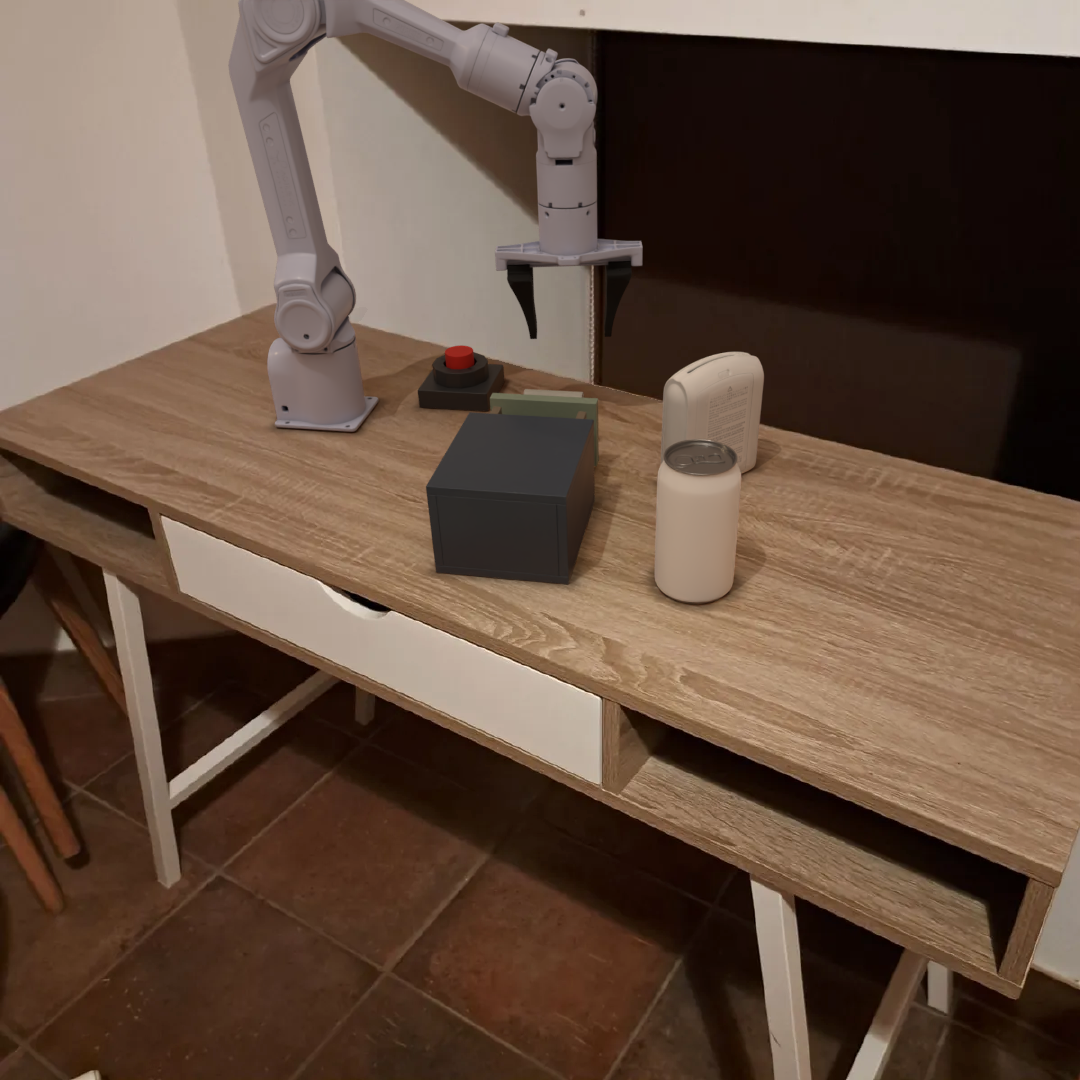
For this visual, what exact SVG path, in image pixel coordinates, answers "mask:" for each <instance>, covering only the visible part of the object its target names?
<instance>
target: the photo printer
mask: <svg viewBox="0 0 1080 1080" xmlns="http://www.w3.org/2000/svg"><path fill="white" fill-rule="evenodd" d="M764 383H765V373H764V368H763V365H762V363H761V361H760V359H759V357H757V356H755V355H751V354H750V353H749V352H744V351H727V352H722V353H716V354H712V355H709V356H706V357H703V358H700V359H698V360H696V361H694V362H692V363H690V364H688V365H686V366H684V367H683V368H681V369H679V370H678V371H676V372H675V373H674V374H673V375H671V377H670V378H668V379H667V381H666V382H665V384H664V386H663V393H662V394H663V395H662V415H661V416H662V418H661V440H660V441H661V443H660V465H661V464H662V462H663V461H664V452H665V450H666V449H667V448H668V447H669V446H671V445H673V444H675V443H677V442H680V441H684V440H691V439H706V440H713V441H717V442H720V443H723V444H725V445H727V446H729V447H731V448H732V449H733V450H734V451H735V452H736V454H737V458H738V459H737V464H738V467H739V469H740V472H741V475H742V474H744V473H746V472H748V471H750V470H752V469H754V467H755V466H756V464H757V457H758V445H759V436H760V435H759V433H760V423H761V411H762V402H763V391H764Z"/></svg>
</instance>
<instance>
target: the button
mask: <svg viewBox="0 0 1080 1080" xmlns="http://www.w3.org/2000/svg"><path fill="white" fill-rule="evenodd" d="M473 352H474V348H473V347H472V346H469V345H463V344H462V345H454V346H450V347H448V348H446V349H445V350H444V355H445V359H446V367H447V368H450V369H465V368H469V367H472V366H474V353H473Z"/></svg>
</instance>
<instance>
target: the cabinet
mask: <svg viewBox="0 0 1080 1080" xmlns="http://www.w3.org/2000/svg"><path fill="white" fill-rule="evenodd" d="M595 481H596V480H595V466H594V420H593V419H576V418H559V417H541V416H524V415H507V414H490V412H489V413H487V412H473V411H469V412H468V414H467V416H466V417H465V419H464V421H463V422H462V424H461V426H460V428H459V429H458V430H457V432H456V435H455V436H454V438H453V440H452V441H451V443H450V445H449V446H448V448H447V450H446V451H445V453H444V454H443V456H442V458H441V460H440V462H439V463H438V465H437V466H436V468H435V470H434V472H433V473H432V475H431V477H430V478H429V480H428V482H427V484H426V485H425V491H426V499H427V501H426V502H427V508H428V517H429V525H430V533H431V543H432V550H433V558H434V559H433V560H434V565H435V573H437V574H448V575H459V576H471V577H480V578H491V579H492V578H493V579H505V580H514V581H526V582H537V583H547V584H558V585H559V584H560V585H569V584H570V581H571V578H572V575H573V572H574V568H575V566H576V563H577V559H578V557H579V556H578V555H579V552H580V549H581V547H582V543H583V539H584V537H585V534H586V530H587V527H588V523H589V520H590V518H591V514H592V510H593V507H594V505H595V501H596V498H595V497H596V495H595V491H596V490H595V489H596V488H595V485H596V483H595Z"/></svg>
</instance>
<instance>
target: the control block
mask: <svg viewBox="0 0 1080 1080" xmlns="http://www.w3.org/2000/svg"><path fill="white" fill-rule="evenodd" d="M473 353H474V366H472V367H469V368H465V369H450V368H447V367H446V359H445V354H443V355H441V356H438V357H436V358H435V359H434V360H433V362H432V364H431V366H432V369H431V371H429V373H428V375H427V376H426V378H425V379H424V380H423V382H422V383H421V385H420V386H419V387H418V389H417V396H418V397H417V398H418V407H419V408H420V409H437V410H438V409H439V410H453V411H454V410H456V411H469V412H489V410H490V409H491V408H490V397H491V395H492V393H500V390H501V389H502V387H503V386H504V383H505V368H504V367H505V366H504V364H497V363H495V364H494V363H489V360H488V359H487V357H486V356H485V355H484V354H481V353H478V352H474V351H473Z"/></svg>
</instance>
